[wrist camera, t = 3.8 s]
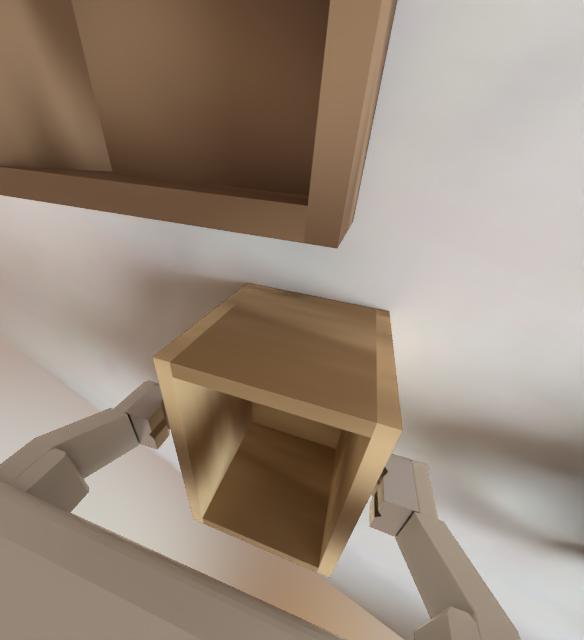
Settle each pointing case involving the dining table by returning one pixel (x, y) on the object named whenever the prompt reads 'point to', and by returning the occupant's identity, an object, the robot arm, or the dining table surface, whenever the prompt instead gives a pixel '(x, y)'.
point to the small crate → (283, 418)
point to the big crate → (194, 109)
